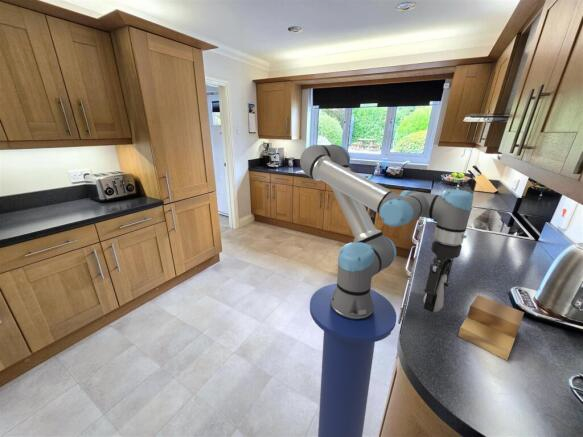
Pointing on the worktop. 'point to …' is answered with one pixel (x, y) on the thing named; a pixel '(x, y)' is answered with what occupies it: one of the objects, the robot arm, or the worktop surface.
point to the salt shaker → (439, 294)
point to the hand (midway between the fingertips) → (432, 305)
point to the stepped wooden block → (491, 326)
